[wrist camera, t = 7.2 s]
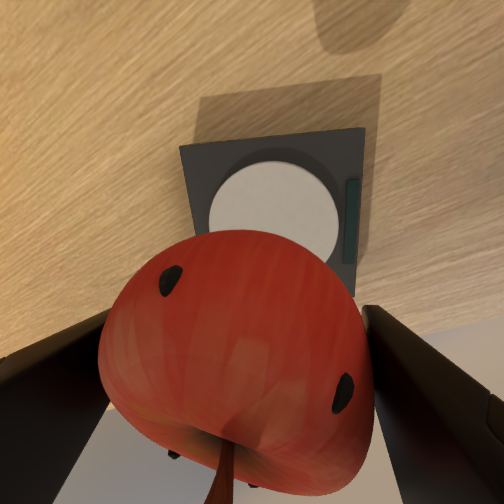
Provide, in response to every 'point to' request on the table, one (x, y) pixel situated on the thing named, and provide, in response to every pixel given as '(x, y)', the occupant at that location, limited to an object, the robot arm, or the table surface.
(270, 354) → the spotted red fruit
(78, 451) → the robot arm
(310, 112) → the table surface
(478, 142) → the table surface
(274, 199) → the scale
